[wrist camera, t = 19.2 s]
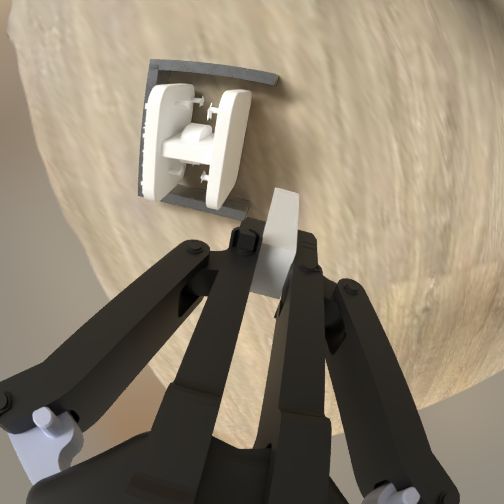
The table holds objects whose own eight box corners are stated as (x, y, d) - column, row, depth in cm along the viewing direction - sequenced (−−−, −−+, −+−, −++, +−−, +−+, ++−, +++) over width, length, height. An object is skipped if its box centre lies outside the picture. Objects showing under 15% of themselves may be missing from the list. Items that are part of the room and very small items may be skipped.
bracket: (278, 75, 34) (276, 74, 30) (248, 209, 45) (243, 221, 42) (163, 60, 34) (150, 59, 31) (149, 186, 46) (137, 195, 42)
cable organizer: (237, 188, 44) (216, 222, 34) (172, 174, 44) (137, 204, 34) (255, 90, 35) (237, 93, 26) (183, 81, 36) (143, 84, 26)
